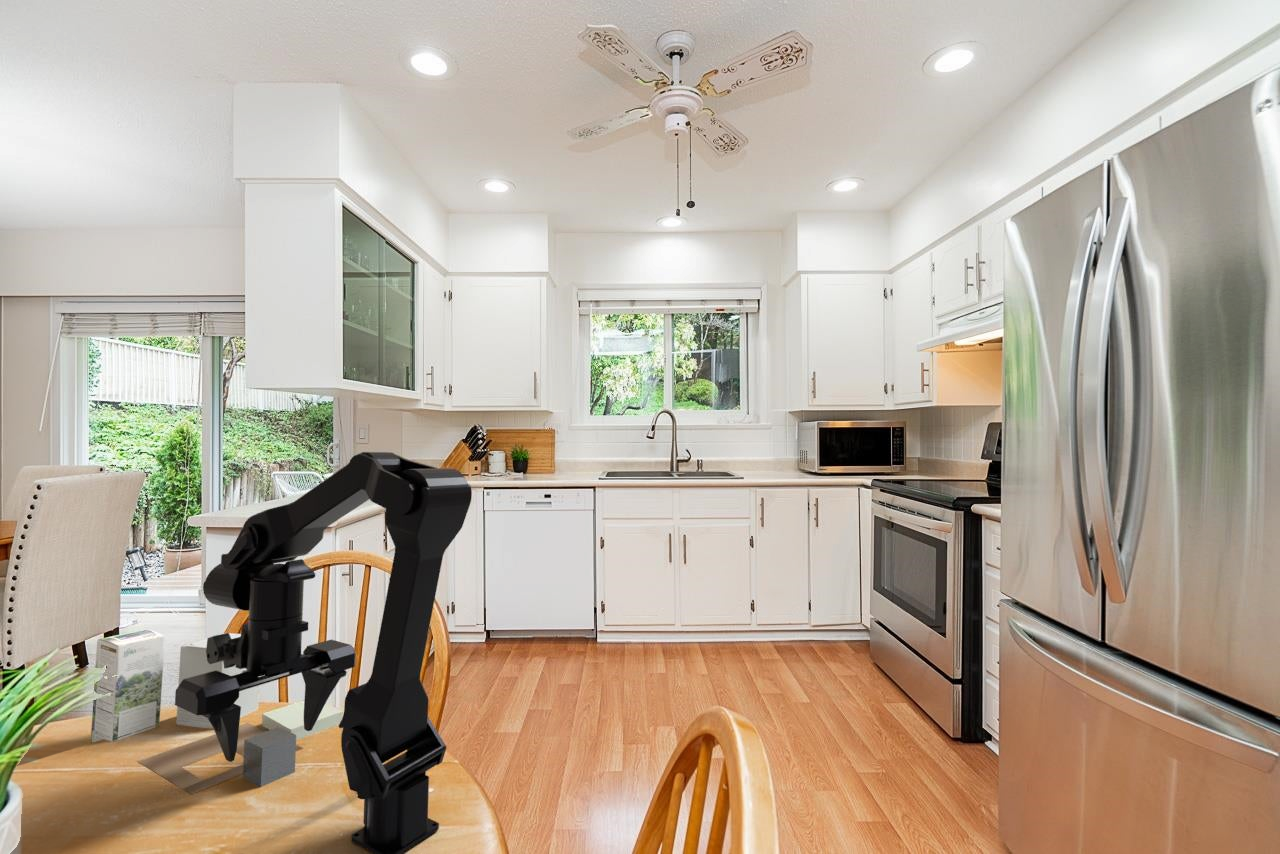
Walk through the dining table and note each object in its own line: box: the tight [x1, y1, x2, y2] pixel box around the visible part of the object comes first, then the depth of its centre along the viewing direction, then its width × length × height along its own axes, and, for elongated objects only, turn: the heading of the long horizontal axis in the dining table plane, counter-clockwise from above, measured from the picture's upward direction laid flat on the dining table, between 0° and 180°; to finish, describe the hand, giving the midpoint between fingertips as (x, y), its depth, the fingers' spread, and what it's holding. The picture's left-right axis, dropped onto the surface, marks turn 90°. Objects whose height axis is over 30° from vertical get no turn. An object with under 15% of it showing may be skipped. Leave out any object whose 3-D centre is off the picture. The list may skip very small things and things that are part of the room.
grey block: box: [242, 727, 297, 788], centre depth 74 cm, size 4×4×6 cm
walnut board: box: [137, 722, 304, 795], centre depth 79 cm, size 14×13×2 cm
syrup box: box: [90, 629, 166, 744], centre depth 86 cm, size 6×6×14 cm
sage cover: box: [261, 700, 344, 741], centre depth 88 cm, size 8×7×4 cm
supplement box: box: [175, 632, 261, 730], centre depth 90 cm, size 7×7×13 cm
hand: (271, 744), depth 74 cm, fingers open, 9 cm apart
